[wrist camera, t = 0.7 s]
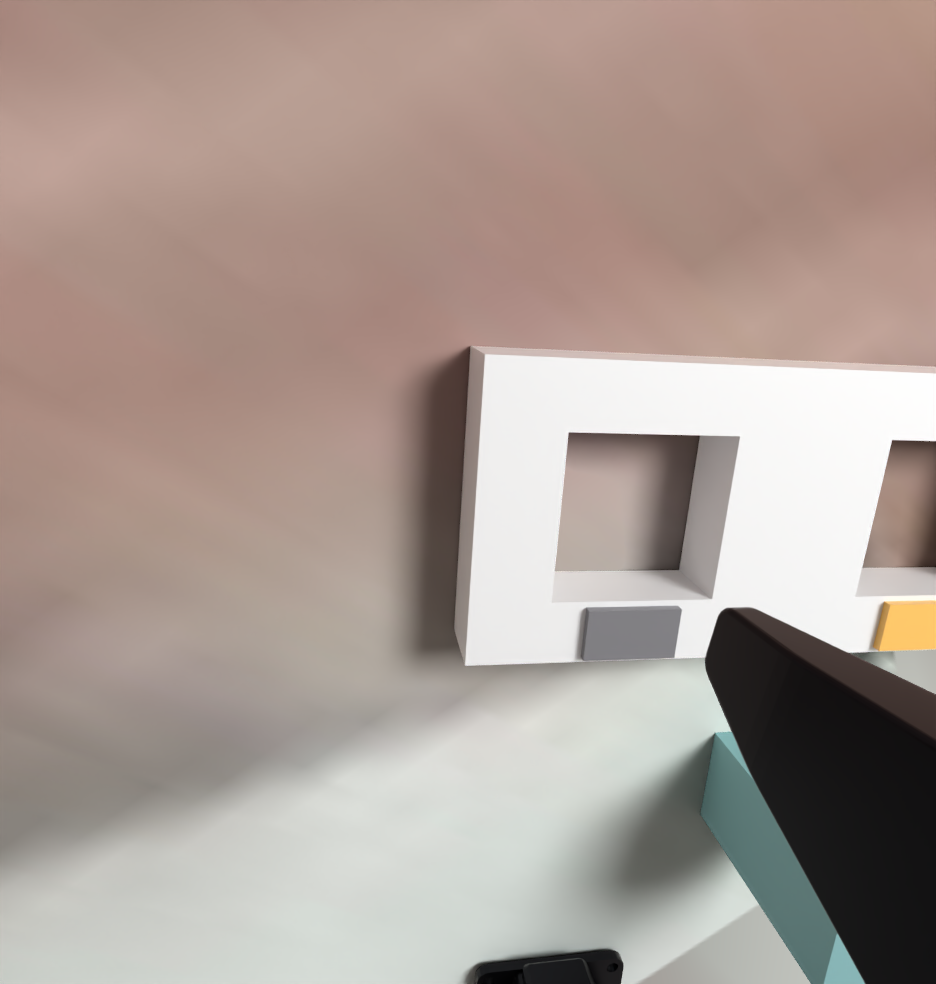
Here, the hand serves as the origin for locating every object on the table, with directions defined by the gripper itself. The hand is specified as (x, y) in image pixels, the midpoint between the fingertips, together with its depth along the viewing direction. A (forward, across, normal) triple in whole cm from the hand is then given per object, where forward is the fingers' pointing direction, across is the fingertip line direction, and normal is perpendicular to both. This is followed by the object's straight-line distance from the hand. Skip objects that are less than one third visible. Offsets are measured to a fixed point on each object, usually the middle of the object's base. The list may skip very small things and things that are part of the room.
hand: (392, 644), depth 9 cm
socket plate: (+13, -15, +4) cm, 21 cm away
